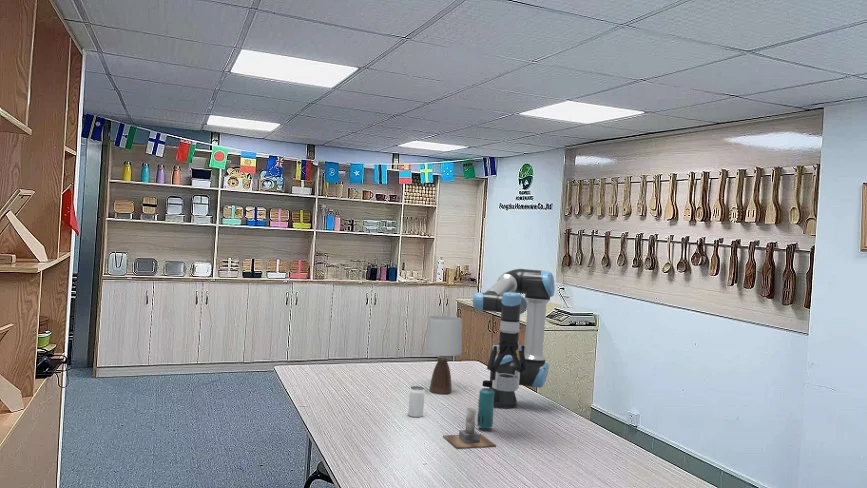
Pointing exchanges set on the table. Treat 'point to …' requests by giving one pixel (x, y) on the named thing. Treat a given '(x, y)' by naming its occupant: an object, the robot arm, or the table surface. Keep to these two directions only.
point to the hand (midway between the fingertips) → (505, 387)
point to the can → (416, 401)
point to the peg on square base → (469, 435)
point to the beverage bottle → (486, 405)
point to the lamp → (443, 349)
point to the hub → (507, 382)
